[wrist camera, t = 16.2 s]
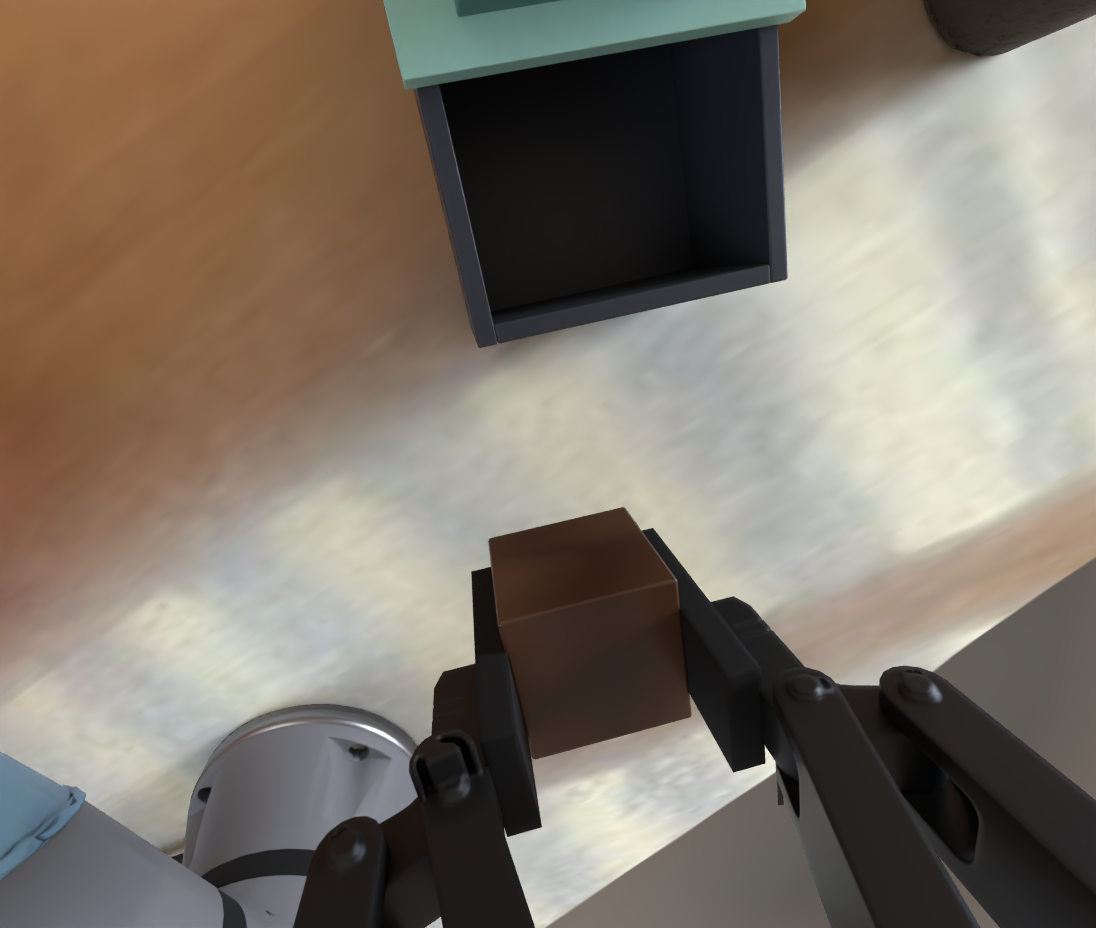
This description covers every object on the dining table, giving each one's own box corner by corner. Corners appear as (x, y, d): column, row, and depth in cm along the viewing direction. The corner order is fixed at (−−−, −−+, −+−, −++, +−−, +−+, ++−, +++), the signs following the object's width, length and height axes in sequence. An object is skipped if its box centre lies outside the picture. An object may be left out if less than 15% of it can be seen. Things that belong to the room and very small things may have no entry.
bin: (471, 330, 30) (478, 348, 22) (383, -38, 24) (347, -201, 16) (700, 279, 31) (788, 279, 23) (667, -82, 26) (769, -255, 17)
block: (515, 651, 18) (532, 762, 14) (487, 537, 17) (497, 624, 12) (640, 619, 18) (693, 718, 14) (624, 505, 17) (678, 579, 13)
